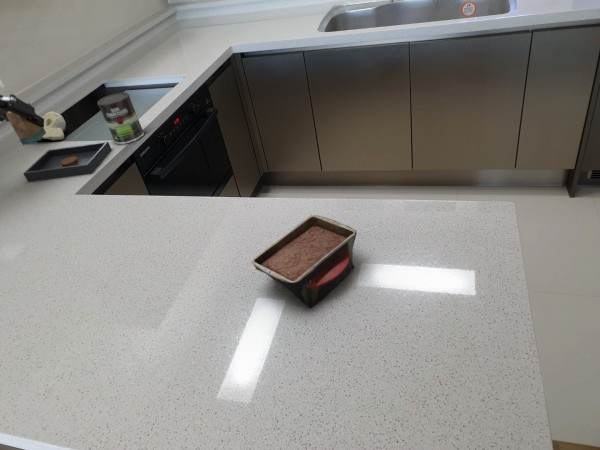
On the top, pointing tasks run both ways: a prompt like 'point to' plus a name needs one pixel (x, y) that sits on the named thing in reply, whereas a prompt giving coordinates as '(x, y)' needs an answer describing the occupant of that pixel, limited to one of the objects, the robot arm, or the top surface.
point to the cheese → (53, 126)
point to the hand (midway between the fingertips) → (35, 124)
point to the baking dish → (310, 258)
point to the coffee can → (121, 118)
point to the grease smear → (69, 161)
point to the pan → (51, 160)
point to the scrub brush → (25, 128)
